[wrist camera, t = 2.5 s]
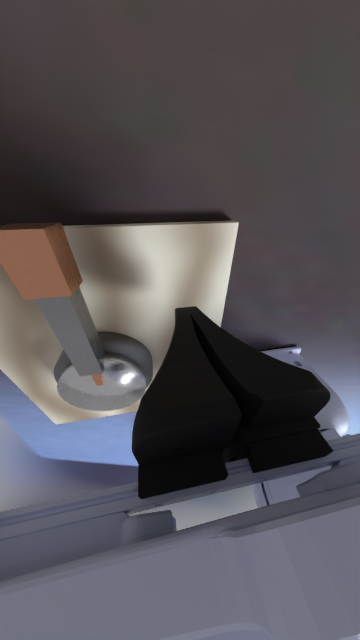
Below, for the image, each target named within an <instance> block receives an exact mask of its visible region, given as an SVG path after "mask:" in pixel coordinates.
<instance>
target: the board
mask: <svg viewBox="0 0 360 640" xmlns="http://www.w3.org/2000/svg"><path fill="white" fill-rule="evenodd" d="M238 224H239V222H236V221H233V220H232V221H200V222H168V223H136V224H104V225H72V226H63V229H64V232H65V234H66V237H67V240H68V242H69V245H70V248H71V251H72V253H73V256H74V259H75V261H76V264H77V267H78V269H79V272H80V275H81V278H82V280H83V282H82V283H81V284H80V286H79V287H80V290H81V292H82V295H83V297H84V300H85V302H86V305H87V307H88V310H89V313H90V315H91V318H92V320H93V323H94V325H95V328H96V331H97V333H98V336H99V338H100V341H101V343H102V346H103V348H104V351H105V353H107V354H116V355H120V356H124V357H127V358H129V359H131V360H133V361H135V362H136V363H138V364H139V365H140V366H141V367H142V369H143V370H144V372H145V376H146V389H145V392H146V390H147V389H148V387H149V386H150V384H151V383H152V381H153V379H154V378H155V376H156V374H157V372H158V370H159V368H160V367H161V365H162V362H163V360H164V358H165V356H166V353H167V351H168V348H169V346H170V343H171V340H172V336H173V332H174V328H175V309H176V308H182V307H192V306H196V307H197V308H198V309H200V310H201V311H202V312H203V313H204V314H205V315H206V316H207V317H208V318H210V319H211V320H212V321H213V322H214V323H215V324H217V325H218V326H219V327H221V322H222V316H223V310H224V305H225V299H226V293H227V287H228V282H229V276H230V270H231V264H232V258H233V253H234V247H235V241H236V235H237V230H238ZM70 362H71V361H70V359H69V357H68V356H67V354H66V352H65V351H64V349H63V347H62V346H61V344H60V342H59V341H58V339H57V337H56V335H55V334H54V332H53V330H52V329H51V327H50V325H49V324H48V322H47V320H46V319H45V317H44V315H43V313H42V312H41V310H40V308H39V307H38V305H37V303H36V302H35V300H34V299H28V300H24V299H23V297H22V296H21V294H20V293H19V291H18V290H17V288H16V286H15V285H14V283H13V282H12V280H11V279H10V277H9V275H8V274H7V272H6V271H5V269H4V267H3V266H2V264H1V263H0V369H1V370H2V371H3V372H4V373H5V374H6V375H7V376H8V377H9V378H10V379H11V380H12V381H13V382H14V383H15V384H16V385H17V386H18V387H19V388H20V389H21V390H22V391H23V392H24V393H25V394H26V395H27V396H28V397H29V398H30V399H31V400H32V401H33V402H34V403H35V404H36V405H37V406H38V407H39V408H40V409H41V410H42V411H43V412H44V413H45V414H46V415H47V416H48V417H49V418H50V419H51V420H52V421H53V422H54V423H55V424H62V423H69V422H75V421H81V420H87V419H93V418H99V417H105V416H111V415H117V414H124V413H130V412H136V411H137V410H138V407H139V404H140V401H141V398H142V397H141V398H140V399H139V400H138V401H137V402H135V403H134V404H132V405H130V406H127V407H125V408H121V409H117V410H111V411H92V410H85V409H81V408H78V407H75V406H73V405H71V404H69V403H67V402H66V401H64V400H63V399H62V398H61V397H60V395H59V393H58V391H57V384H58V381H59V379H60V377H61V375H62V372H63V370H64V369H65V367H66V366H67V365H68V364H69V363H70Z"/></svg>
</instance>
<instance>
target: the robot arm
mask: <svg viewBox="0 0 360 640" xmlns="http://www.w3.org/2000/svg"><path fill="white" fill-rule="evenodd" d="M300 351H301V348H300V347H290V348H282V349H275V350H267V351H258V350H256V349H254V348H252V347H250V346H249V345H247V344H245V343H243V342H241V341H240V340H238V339H237V338H235V337H233V336H232V335H230V334H229V333H227V332H226V331H225V330H223V329H222V328H221V327H219V326H218V325H217V324H215V323H214V322H213V321H212V320H211V319H210V318H208V317H207V316H206V315H205V314H204V313H203V312H202V311H201V310H200V309H198V308H197V307H196V306H192V307H182V308H176V309H175V328H174V332H173V336H172V340H171V343H170V346H169V348H168V351H167V353H166V356H165V358H164V360H163V362H162V365H161V367H160V368H159V370H158V372H157V374H156V376H155V378H154V379H153V381H152V383H151V384H150V386H149V387H148V389H147V390H146V392H145V393H144V395H143V396H142V398H141V401H140V404H139V407H138V410H137V414H136V417H135V421H134V426H133V434H132V452H133V454H134V456H135V458H136V460H137V462H138V464H139V470H138V482H136V483H131V484H127V485H122V486H118V487H113V488H108V489H104V490H100V491H94V492H90V493H85V494H81V495H76V496H72V497H67V498H62V499H58V500H54V501H49V502H44V503H40V504H35V505H30V506H26V507H21V508H17V509H12V510H8V511H3V512H0V640H360V434H356V435H349V434H347V435H344V434H345V433H346V432H347V430H348V428H349V416H348V413H347V410H346V408H345V406H344V404H343V402H342V401H341V399H340V398H339V396H338V395H337V394H336V393H335V392H334V391H333V390H332V389H331V388H330V386H329V385H328V384H327V383H326V382H325V381H324V380H323V379H322V378H321V377H320V376H319V375H318V374H317V373H316V372H315V371H314V370H313V368H312V367H311V366H310V365H309V364H308V363H307V362H306V361H305V360H304V359H303V358H302V357H301V356H300V355H299V353H300ZM343 435H344V436H343ZM341 436H342V437H341ZM249 485H253V488H254V494H255V499H256V503H257V507H258V508H257V509H254V510H250V511H246V512H243V513H239V514H236V515H232V516H228V517H225V518H222V519H218V520H214V521H211V522H207V523H204V524H200V525H197V526H193V527H190V528H186V529H183V530H179V531H176V520H175V518H174V517H173V516H172V512H171V511H170V510H166V511H159V512H152V513H145V514H140V515H135V516H131V517H130V516H129V515H128V514H132V513H136V512H140V511H144V510H148V509H153V508H156V507H160V506H165V505H169V504H174V503H178V502H182V501H186V500H190V499H194V498H198V497H203V496H207V495H211V494H215V493H219V492H223V491H228V490H232V489H236V488H240V487H244V486H249Z"/></svg>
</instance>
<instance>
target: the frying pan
mask: <svg viewBox="0 0 360 640" xmlns="http://www.w3.org/2000/svg"><path fill="white" fill-rule="evenodd" d="M0 263H1V264H2V266H3V267H4V269H5V271H6V272H7V274H8V275H9V277H10V279H11V280H12V282H13V283H14V285H15V286H16V288H17V290H18V291H19V293H20V294H21V296H22V297H23V299H24V300H28V299H34V300H35V302H36V303H37V305H38V307H39V308H40V310H41V312H42V313H43V315H44V317H45V319H46V320H47V322H48V324H49V325H50V327H51V329H52V330H53V332H54V334H55V335H56V337H57V339H58V341H59V342H60V344H61V346H62V347H63V349H64V351H65V352H66V354H67V356H68V357H69V359H70V361H71V362H70V363H69V364H68V365H67V366H66V367H65V369H64V370H63V372H62V375H61V377H60V379H59V381H58V384H57V391H58V393H59V395H60V397H61V398H62V399H63V400H64V401H66V402H67V403H69V404H71V405H73V406H75V407H78V408H81V409H85V410H92V411H111V410H117V409H121V408H125V407H127V406H130V405H132V404H134V403H135V402H137V401H138V400H139V399H140V398H141V397H142V396H143V395H144V393H145V389H146V376H145V372H144V370H143V369H142V367H141V366H140V365H139V364H138V363H136V362H135V361H133V360H131V359H129V358H127V357H124V356H120V355H116V354H107V353H105V351H104V348H103V346H102V343H101V341H100V338H99V336H98V333H97V331H96V328H95V325H94V323H93V320H92V318H91V315H90V313H89V310H88V307H87V305H86V302H85V300H84V297H83V295H82V292H81V290H80V287H79V286H80V284H81V283H82V282H83V280H82V278H81V275H80V272H79V269H78V267H77V264H76V261H75V259H74V256H73V253H72V251H71V248H70V245H69V242H68V240H67V237H66V234H65V232H64V229H63V226H62V224H61V222H57V223H22V224H7V225H3V226H0Z"/></svg>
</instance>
